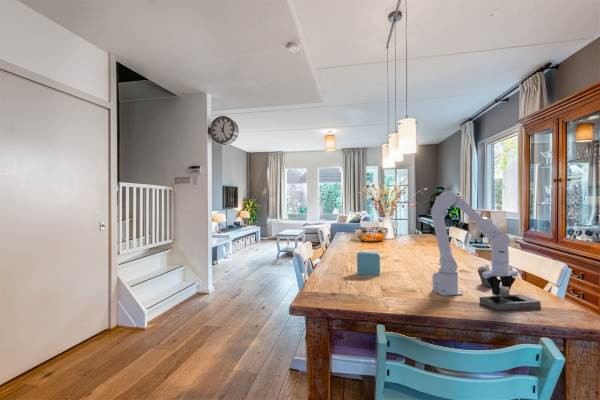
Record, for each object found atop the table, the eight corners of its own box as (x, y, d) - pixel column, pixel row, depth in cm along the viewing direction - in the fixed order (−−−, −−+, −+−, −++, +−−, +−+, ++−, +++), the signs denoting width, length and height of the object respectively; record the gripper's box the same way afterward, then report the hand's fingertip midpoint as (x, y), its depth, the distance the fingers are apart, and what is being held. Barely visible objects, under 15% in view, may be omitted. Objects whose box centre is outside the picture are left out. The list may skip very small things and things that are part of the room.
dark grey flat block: (497, 311, 100) (496, 304, 100) (479, 303, 108) (479, 296, 108) (540, 308, 102) (540, 301, 102) (520, 300, 110) (520, 294, 110)
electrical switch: (493, 288, 125) (490, 268, 126) (479, 287, 128) (476, 267, 129) (494, 283, 133) (492, 264, 133) (481, 283, 136) (479, 263, 136)
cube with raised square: (500, 299, 111) (500, 287, 111) (492, 296, 115) (492, 284, 115) (509, 299, 112) (509, 286, 112) (500, 295, 116) (500, 283, 116)
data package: (379, 274, 153) (379, 252, 153) (380, 276, 148) (379, 253, 148) (357, 273, 155) (357, 251, 155) (357, 275, 151) (356, 253, 151)
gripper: (492, 264, 109) (492, 298, 108) (524, 262, 111) (525, 296, 110) (478, 260, 116) (478, 293, 115) (509, 258, 118) (509, 290, 117)
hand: (500, 294), depth 113 cm, fingers closed on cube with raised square, 4 cm apart
